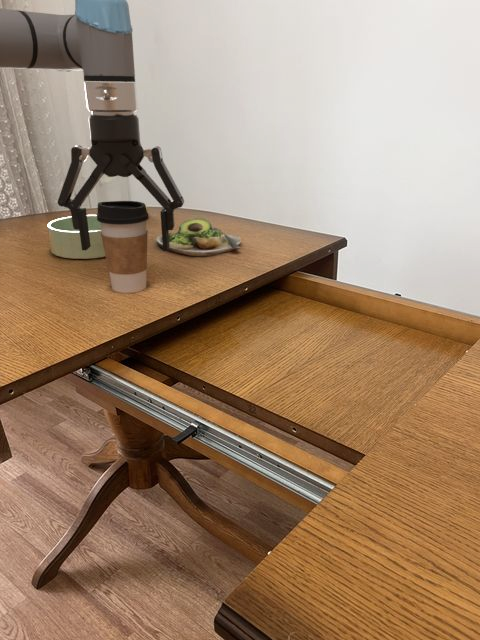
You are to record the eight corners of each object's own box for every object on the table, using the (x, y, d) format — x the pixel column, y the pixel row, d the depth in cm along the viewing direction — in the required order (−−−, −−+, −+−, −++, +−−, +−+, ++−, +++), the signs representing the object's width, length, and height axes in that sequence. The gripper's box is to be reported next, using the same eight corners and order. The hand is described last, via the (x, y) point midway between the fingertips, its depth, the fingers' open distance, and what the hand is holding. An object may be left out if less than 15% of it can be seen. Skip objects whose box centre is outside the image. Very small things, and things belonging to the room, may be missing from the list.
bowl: (41, 261, 109) (36, 231, 107) (64, 241, 123) (60, 214, 120) (117, 262, 110) (114, 232, 107) (131, 242, 124) (129, 215, 121)
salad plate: (264, 248, 121) (265, 228, 119) (204, 265, 109) (203, 242, 107) (206, 232, 132) (205, 213, 130) (146, 246, 121) (144, 225, 119)
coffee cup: (95, 287, 96) (85, 201, 90) (136, 277, 102) (129, 195, 95) (121, 300, 91) (112, 210, 84) (163, 289, 96) (157, 203, 90)
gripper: (22, 113, 80) (45, 254, 89) (192, 115, 81) (197, 255, 90) (39, 111, 87) (59, 242, 96) (196, 113, 87) (201, 243, 97)
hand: (126, 248), depth 93 cm, fingers open, 13 cm apart
